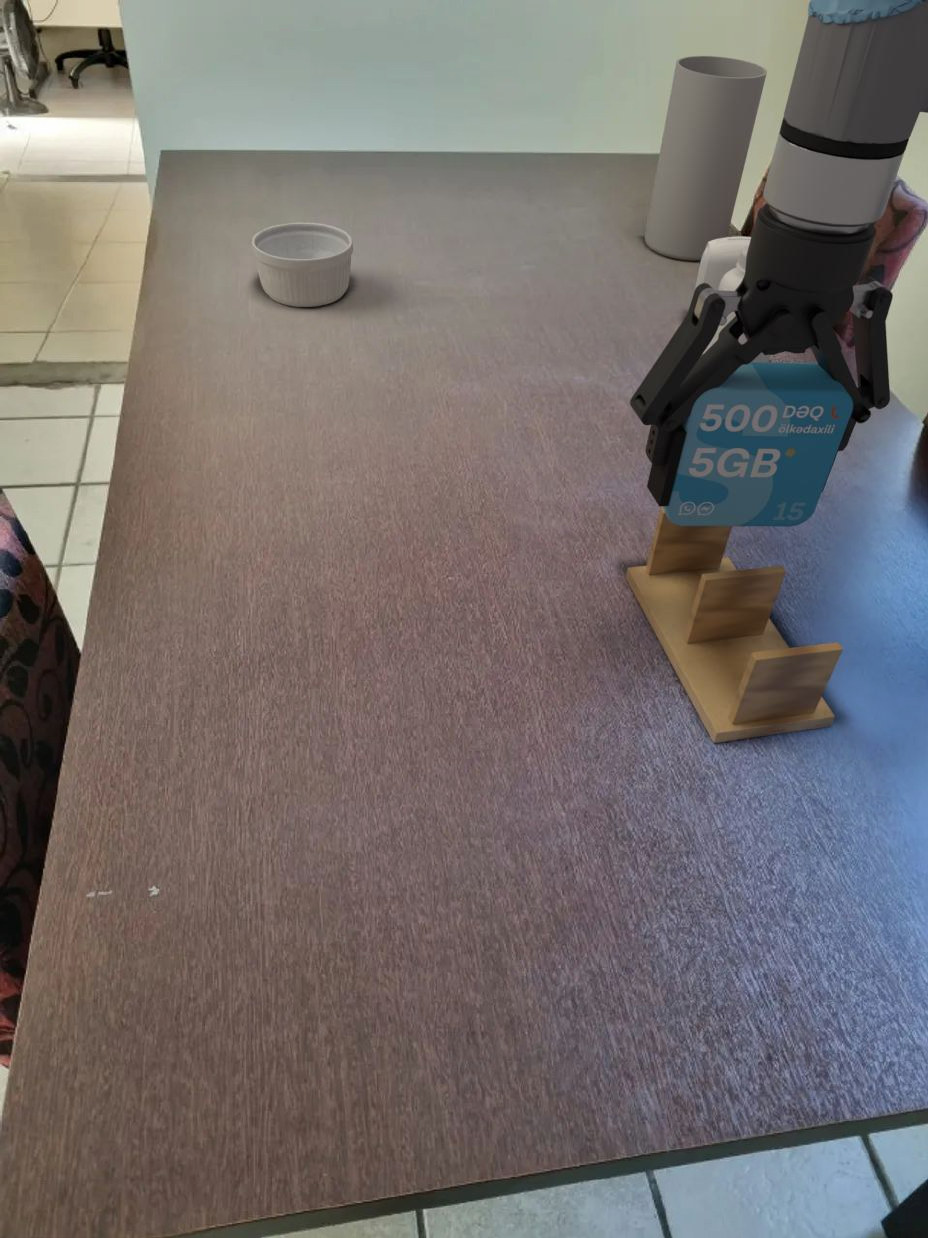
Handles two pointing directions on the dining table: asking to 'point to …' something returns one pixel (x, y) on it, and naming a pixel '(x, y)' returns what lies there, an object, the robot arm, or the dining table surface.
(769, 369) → the data package
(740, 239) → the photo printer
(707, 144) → the cylinder vase
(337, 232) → the ramekin
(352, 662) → the dining table surface
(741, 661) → the slot rack
